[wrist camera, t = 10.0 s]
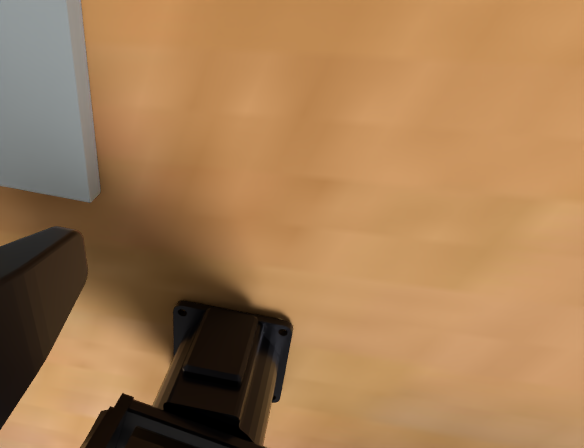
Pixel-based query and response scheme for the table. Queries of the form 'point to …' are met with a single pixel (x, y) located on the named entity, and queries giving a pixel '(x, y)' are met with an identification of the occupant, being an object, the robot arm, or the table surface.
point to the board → (46, 101)
